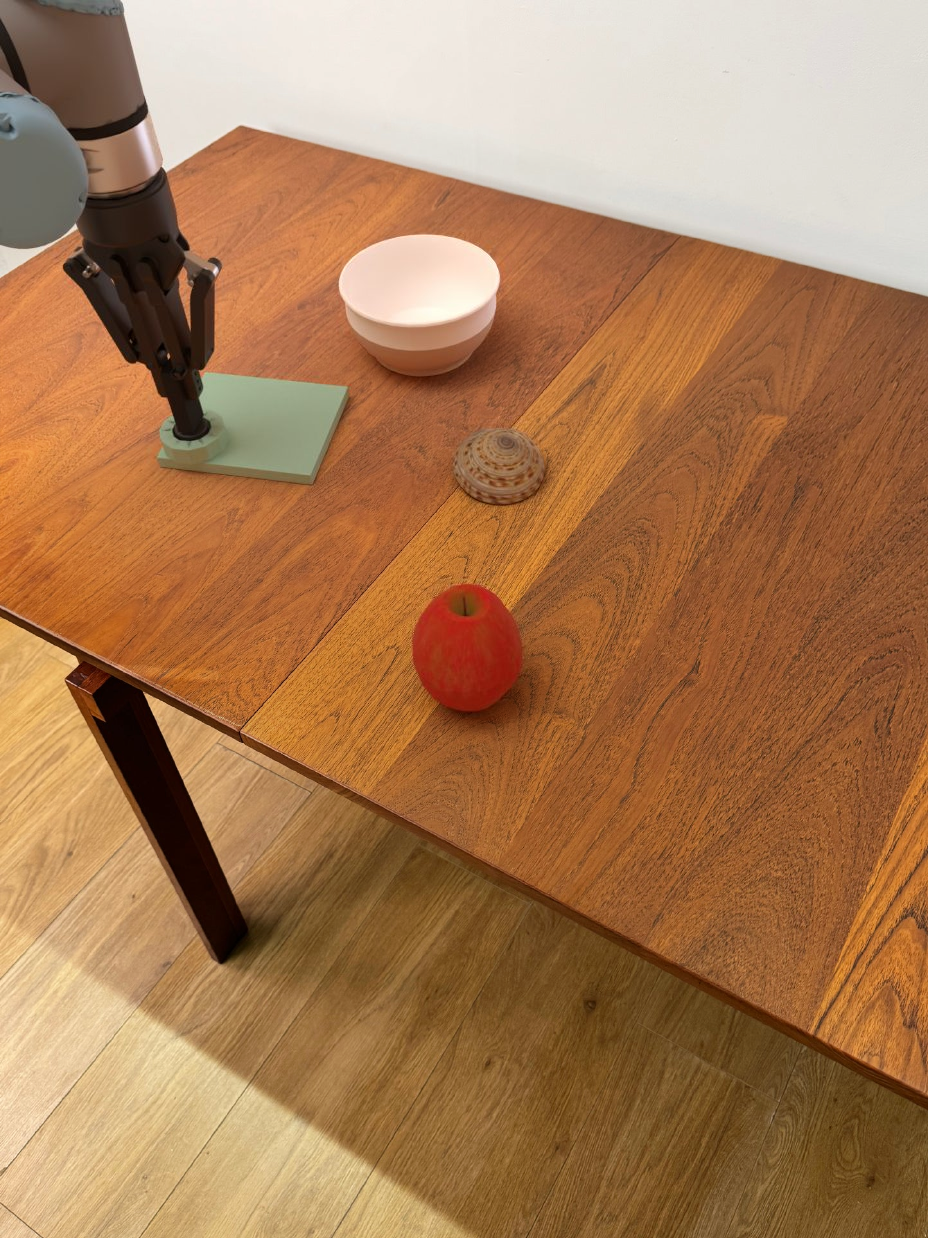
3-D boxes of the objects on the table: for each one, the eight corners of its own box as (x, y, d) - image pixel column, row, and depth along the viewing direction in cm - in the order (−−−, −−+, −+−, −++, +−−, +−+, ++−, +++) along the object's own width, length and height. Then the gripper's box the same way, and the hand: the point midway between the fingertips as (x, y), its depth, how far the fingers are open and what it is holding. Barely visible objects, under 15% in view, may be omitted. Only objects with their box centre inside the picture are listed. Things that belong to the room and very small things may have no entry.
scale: (157, 470, 94) (149, 445, 91) (207, 381, 102) (201, 356, 99) (310, 488, 91) (306, 463, 89) (349, 396, 100) (345, 371, 97)
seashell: (520, 410, 94) (551, 432, 87) (527, 466, 97) (557, 492, 90) (437, 430, 92) (462, 454, 86) (447, 486, 95) (472, 515, 88)
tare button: (174, 449, 93) (169, 434, 92) (186, 428, 95) (181, 413, 93) (204, 452, 93) (200, 438, 91) (215, 431, 94) (211, 417, 93)
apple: (435, 633, 80) (427, 541, 72) (534, 655, 79) (538, 563, 70) (402, 715, 75) (389, 627, 67) (507, 740, 74) (507, 653, 65)
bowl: (505, 302, 109) (505, 235, 103) (493, 395, 99) (493, 327, 93) (361, 297, 110) (352, 231, 104) (335, 389, 100) (324, 321, 94)
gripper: (9, 194, 72) (109, 442, 91) (177, 207, 71) (244, 458, 89) (55, 145, 77) (141, 390, 95) (214, 156, 75) (270, 404, 94)
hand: (191, 423), depth 92 cm, fingers closed
